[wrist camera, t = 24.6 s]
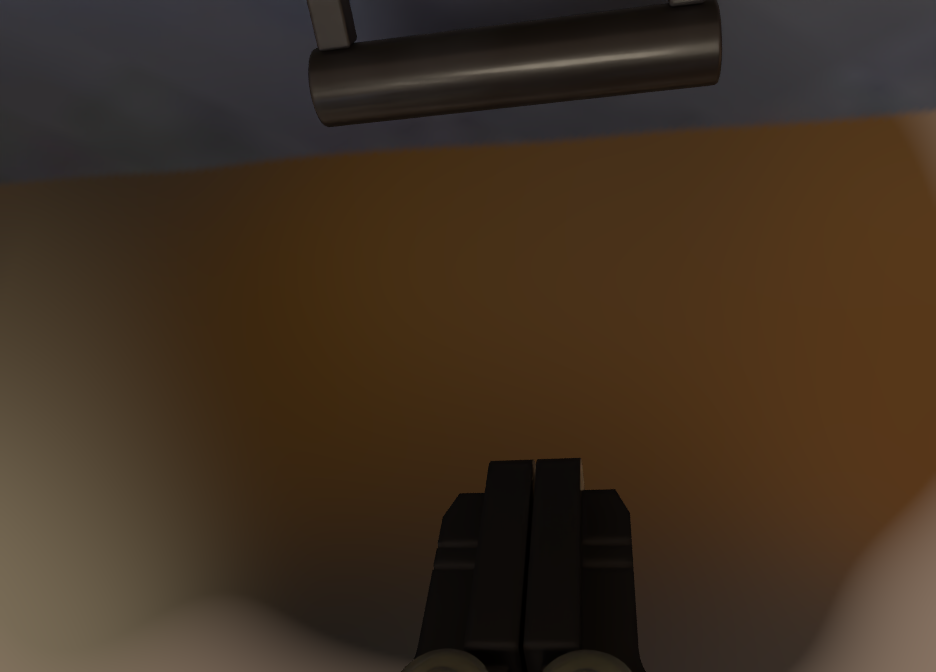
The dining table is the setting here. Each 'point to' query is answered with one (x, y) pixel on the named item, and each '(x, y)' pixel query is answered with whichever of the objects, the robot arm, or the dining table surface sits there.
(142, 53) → the dining table surface
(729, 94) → the dining table surface
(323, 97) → the drawer
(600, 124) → the dining table surface
